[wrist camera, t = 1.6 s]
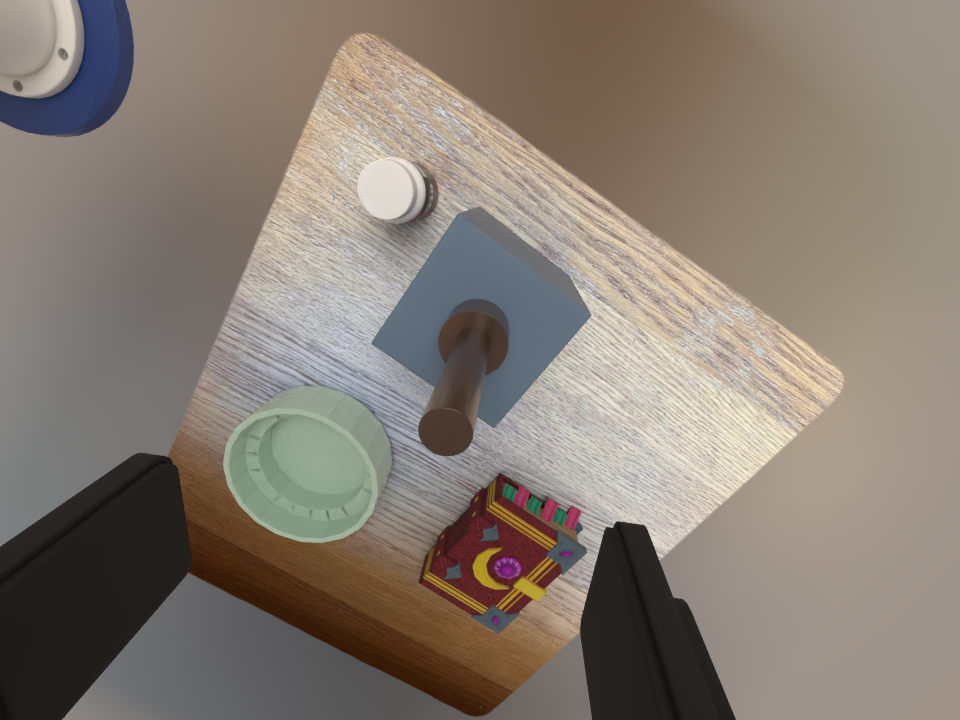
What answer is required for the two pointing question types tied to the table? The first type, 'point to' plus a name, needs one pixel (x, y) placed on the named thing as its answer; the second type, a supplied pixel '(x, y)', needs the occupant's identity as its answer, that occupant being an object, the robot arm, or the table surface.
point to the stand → (493, 277)
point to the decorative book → (502, 553)
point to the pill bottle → (397, 190)
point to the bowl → (309, 464)
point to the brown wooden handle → (463, 374)
